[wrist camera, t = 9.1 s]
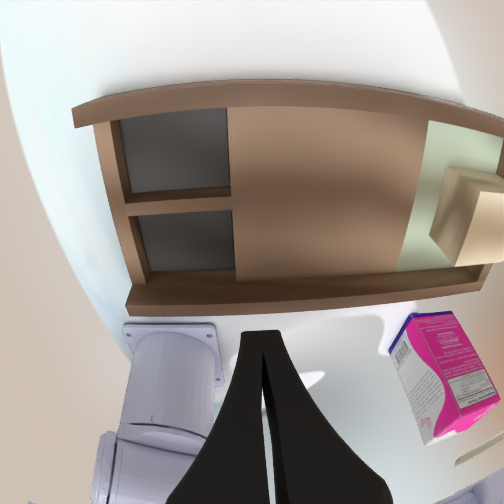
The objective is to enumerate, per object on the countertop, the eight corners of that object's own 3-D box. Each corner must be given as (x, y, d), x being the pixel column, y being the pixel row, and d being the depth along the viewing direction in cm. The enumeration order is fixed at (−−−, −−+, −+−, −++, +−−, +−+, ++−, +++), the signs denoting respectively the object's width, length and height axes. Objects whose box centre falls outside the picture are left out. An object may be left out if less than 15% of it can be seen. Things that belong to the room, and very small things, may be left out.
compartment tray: (459, 263, 22) (480, 290, 19) (141, 281, 21) (129, 316, 18) (501, 117, 14) (533, 133, 12) (100, 97, 14) (71, 108, 11)
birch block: (477, 234, 18) (502, 261, 15) (428, 234, 18) (454, 266, 15) (495, 173, 15) (527, 196, 13) (446, 166, 15) (480, 191, 12)
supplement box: (429, 345, 29) (466, 432, 19) (386, 350, 28) (420, 448, 19) (453, 308, 25) (503, 401, 16) (409, 312, 25) (458, 419, 16)
